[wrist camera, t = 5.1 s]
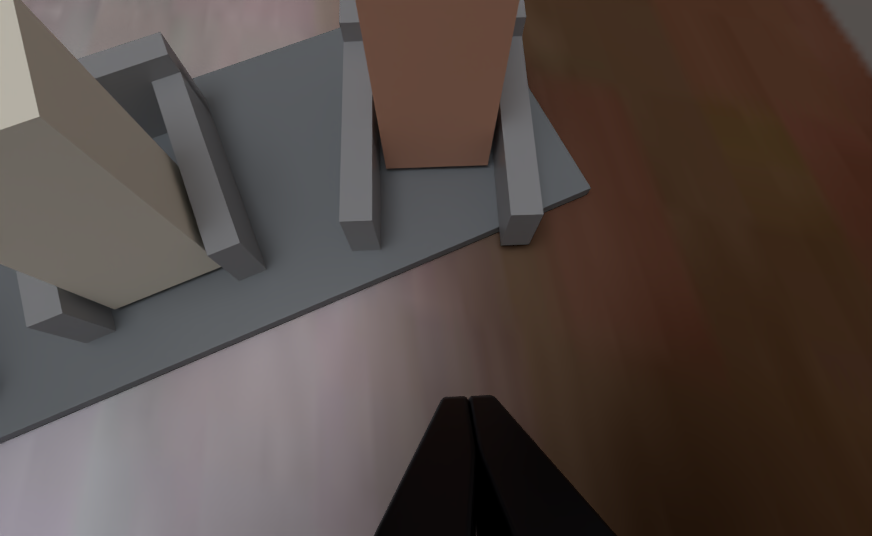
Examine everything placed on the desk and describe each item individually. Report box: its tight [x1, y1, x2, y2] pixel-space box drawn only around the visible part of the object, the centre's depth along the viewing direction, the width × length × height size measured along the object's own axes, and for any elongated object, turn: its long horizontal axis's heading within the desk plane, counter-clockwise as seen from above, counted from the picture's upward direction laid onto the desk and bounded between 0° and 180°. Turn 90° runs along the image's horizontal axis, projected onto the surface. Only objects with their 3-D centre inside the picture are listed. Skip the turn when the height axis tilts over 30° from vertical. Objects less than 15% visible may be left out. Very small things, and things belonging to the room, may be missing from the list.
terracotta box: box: [355, 0, 519, 169], centre depth 18 cm, size 4×4×10 cm
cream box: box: [0, 0, 221, 309], centre depth 16 cm, size 4×4×10 cm
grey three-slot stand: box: [0, 0, 590, 443], centre depth 20 cm, size 14×36×5 cm, turn 114°
